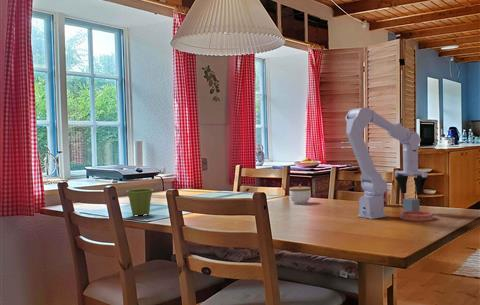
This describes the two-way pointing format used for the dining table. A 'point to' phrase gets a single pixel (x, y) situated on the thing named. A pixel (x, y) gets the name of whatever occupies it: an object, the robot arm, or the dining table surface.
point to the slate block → (411, 204)
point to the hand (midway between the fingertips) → (411, 193)
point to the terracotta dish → (416, 215)
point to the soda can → (385, 197)
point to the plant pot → (140, 200)
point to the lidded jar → (300, 194)
